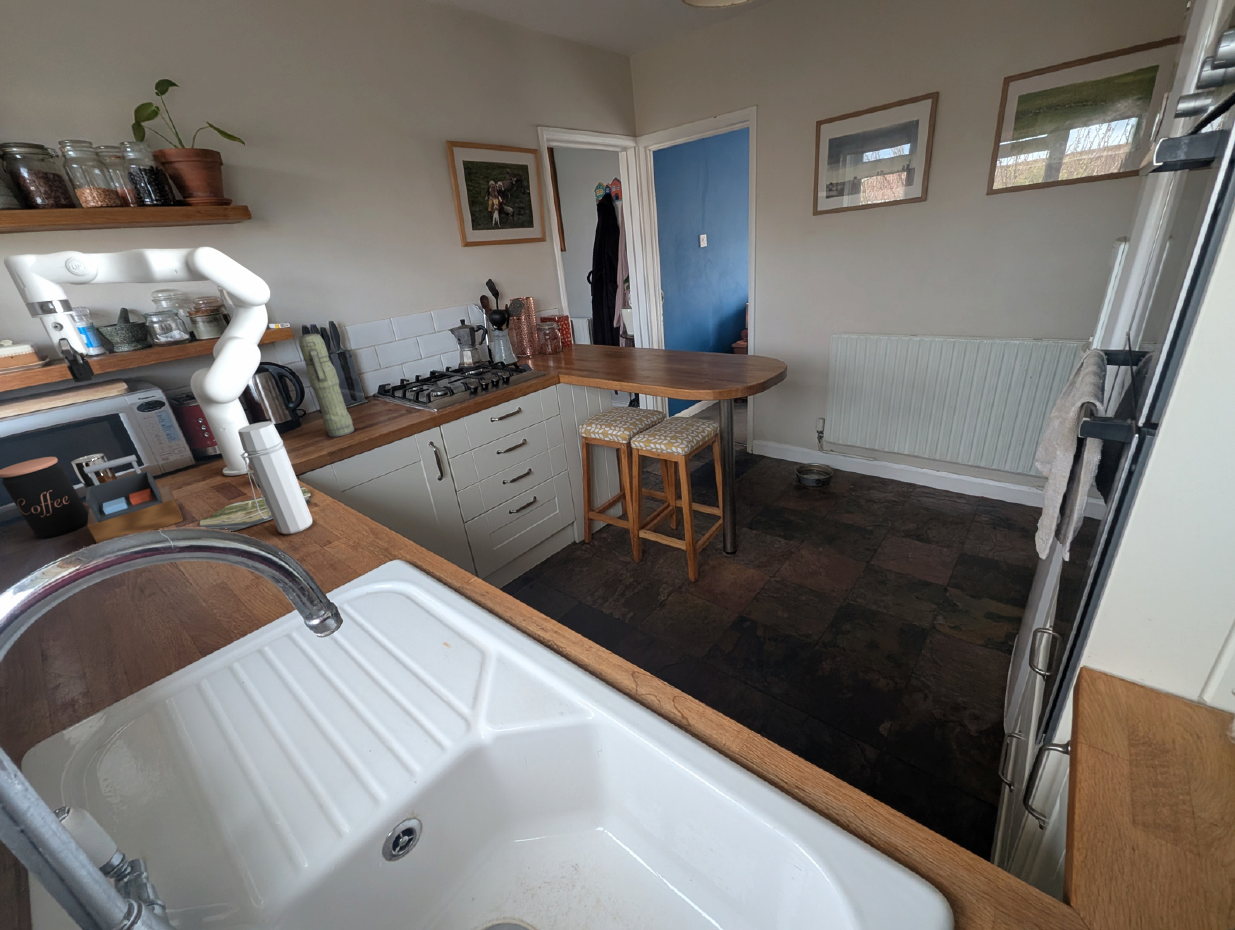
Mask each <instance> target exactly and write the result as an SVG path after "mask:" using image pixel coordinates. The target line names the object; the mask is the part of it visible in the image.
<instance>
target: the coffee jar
mask: <svg viewBox="0 0 1235 930" xmlns="http://www.w3.org/2000/svg"><path fill="white" fill-rule="evenodd" d="M58 462H59V460H58V458H57V457H56V456H45V457H44V456H43V457H40V458H34V459H29V460H26V461H25V460H24V461H22V462H18V463H15V464H11V465H10V466H7V467H4V468H2V469H0V478H1V479H2V481H1V484H2V485H3V487H4V489H5V490H6V492H7V493H8V495H9V496H10V498H11V500H12V501H13V503H14V505H15V506H16V507H17V510H18V511H19V512H20V514H21V515H22V517H23V518H24V520H25V522H26V523H27V525H28V526H29V528H30V530H31V531H32V534H34V536H37V537H40V538H41V539H48V538H49V539H50V538H55V537H58V536H63V535H66V534H69V533H71V532H75V531H76V530H79V529H81V528H83V527H85V526H86V525H87V524H88V512H89V510H88V509H87V507H86V506H85V504H84V502H83V501H82V499H81V497H80V495H79V493H78V492H77V491H76V489H75V487H74V485H73V484H72V482H71V480H70V478H69V476H68V475H67V473H66V471H65V470H64V468H63V466H62V465H59V464H58Z"/></svg>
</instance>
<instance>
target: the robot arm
mask: <svg viewBox="0 0 1235 930" xmlns="http://www.w3.org/2000/svg"><path fill="white" fill-rule="evenodd" d="M3 264H4V266H5V269H6V270H7V272H8V274H9V276H10V278H11V279H12V282H13V284H14V286H15V288H16V289H17V291H18V294H19V295H20V297H21V299H22V301H23V304H24V305H25V307H26V310H27V311H28V313H29V316H31V318H32V319H37V318H39V320H40V322H41V324H42V327H43V329H44V330H45V332H46V334H47V336H48V338H49V340H50V342H51V344H52V345H53V347H54V349H55V351H56V352H57V354H58V356H59V357H60V358H61V359H62V358H63V359H64V361H65V364H66V367H67V370H68V372H69V375H71V377H72V379H73V382H74V383H81V382H82V383H83V382H87V381H92V379H93V376H95V371H94V370H93V368H92V366H91V364H90V362H89V360H88V359H87V358H86V355H87V354H89V352H90V349H89V348H88V346H87V344H86V342H85V340H84V339H83V336H82V334H81V333H80V330H79V329H78V327H77V325H76V323H75V321H74V320H73V317H72V316H71V315H72V314H75V310H74V308H73V307H72V304H71V303H70V301H69V299H68V296H67V294H66V292H65V290H64V288H63V286H62V284H70V285H75V286H80V285H104V284H105V285H106V284H129V283H130V284H131V283H132V284H159V283H184V282H207V281H210V282H211V283H213V284H215V285H216V286H218V287H219V288H221V289H222V290H224V291H225V293H226V296H227V297H228V299H229V300H230V302H231V304H232V306H233V315H232V318H231V319H230V322H229V323H228V325H227V326H226V328H225V329H224V331H223V333H222V335H221V336H220V337H219V339H218V340H217V341H216V343H215V344H214V346H213V349H212V355H213V359H214V361H213V363H212V365H211V366H210V367H204V368H200V369H198V370H196V371H195V372H194V373H193V374H192V376H191V379H190V389H191V392H192V394H193V396H194V399H196V401H197V404H198V405H199V408H200V409H201V410H202V413H203V416H204V417H205V419H206V421H207V424H208V426H209V429H210V431H211V433H212V436H213V438H214V441H215V442H216V444H217V447H218V449H219V452H220V453H221V456H222V459H223V461H224V463H225V465H226V466H225V467H224V468H223V469H222V474H223V475H224V476H227V477H234V476H241V475H245V474H248V472H246V471H247V468H248V466H247V468H246V465H247V464H248V463H249V460H248V458H246V460H247V461H246V462H247V464H245V461H244V460H243V459H242V457H241V456H240V455H242V454H243V453H244V452H245V451H244V450H243V447H242V444H241V440H240V437H239V433H238V430H239V429H241V428H243V427H245V426H248V425H250V422H249V420H248V417H247V415H246V413H245V412H246V411H245V410H244V408H243V405H242V403H241V402H240V399H239V398H240V396H241V395H242V394H243V392H244V391H245V389H246V388H247V386H248V385H249V382H250V381H251V379H252V378H253V376H254V374H255V373H256V371H257V369H258V367H259V366H260V363H261V359H262V355H261V351H260V348H259V346H258V345H259V343H260V342H261V340H262V338H263V336H264V334H265V332H266V330H267V327H268V323H269V317H268V316H269V315H268V310H267V307H266V304H267V303H268V302H269V300H270V299H271V290H270V287H269V285H268V284H267V283H266V281H265V280H264V279H263V278H261V277H260V276H258V274H255V273H254V272H252V271H251V270H249V269H248V268H246V267H244V266H243V265H241V263H239V262H237V261H235V260H234V259H232V258H231V257H229V256H228V255H226V254H225V253H223V252H222V251H220V250H218V249H216V248H213V247H212V246H199V247H193V248H192V247H190V248H184V247H183V248H136V249H135V248H134V249H129V250H125V251H117V252H99V253H98V252H93V253H85V252H81V251H77V250H63V251H58V252H52V253H44V254H43V253H42V254H39V253H38V254H37V253H27V254H26V253H25V254H13V255H12V254H11V255H8V256H6V257H4V259H3ZM247 455H248V454H247V453H245V454H244V456H247ZM248 470H249V469H248Z"/></svg>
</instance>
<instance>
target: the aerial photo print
mask: <svg viewBox="0 0 1235 930" xmlns="http://www.w3.org/2000/svg"><path fill="white" fill-rule="evenodd" d="M300 488H301V491H302V494H303V496H304V499H305V501H306V504H307V505H309V504H311V501H310V500H311V499H310V497H312V496H311V495H312V494H311V492H310V490H308V489H307V488H306V487H305V486H304V485H303V486H300ZM262 496H263V498H264V495H262ZM264 500H265V498H264ZM256 501H257V504H258V508H259V510H260V512H261V514H262V515H263V517H266V516H267V514H268V510H267V508H266V506H265V503H264V501H263V499H262V497H261V496H260V497H256ZM265 502H266V500H265ZM266 504H267V503H266ZM267 507H268V505H267ZM268 509H269V507H268ZM260 512H259V511H258V509H257V505H256V502H255V498H252V499H248V500H243V501H238V502H234V503H232V504H229V505H226V506H224V507H223V508H222V509H219V510H217V511H214V512H213V515H212V516H210V517H206V518H203V519H200V521H199V527H206V528H210V529H219V530H228V531H232V532H235V531H238V530H242V529H245V528H248V527H252V526H255V525H258V524H261V523H263V522H266V521H270V520H274V519H273V517H272V514H271V512H270V510H269V512H270V515H269V518H266V519H264V518H263V517H262V516H261V514H260ZM199 527H198V528H199ZM225 528H227V529H225Z"/></svg>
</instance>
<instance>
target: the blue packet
mask: <svg viewBox="0 0 1235 930" xmlns="http://www.w3.org/2000/svg"><path fill="white" fill-rule="evenodd" d="M126 508H127V502H126V500H125V498H124V497H123V498H119V499H116V500H113V501H109V502H106V503H103V510H104V512H105V514H109V513H113V512H116V511H119V510H123V509H126Z"/></svg>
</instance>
